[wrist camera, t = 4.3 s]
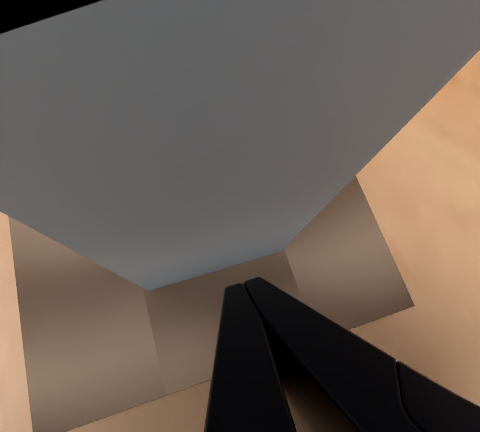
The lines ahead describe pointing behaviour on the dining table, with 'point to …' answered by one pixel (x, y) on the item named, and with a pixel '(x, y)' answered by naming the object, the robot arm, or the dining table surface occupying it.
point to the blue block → (206, 118)
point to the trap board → (178, 312)
